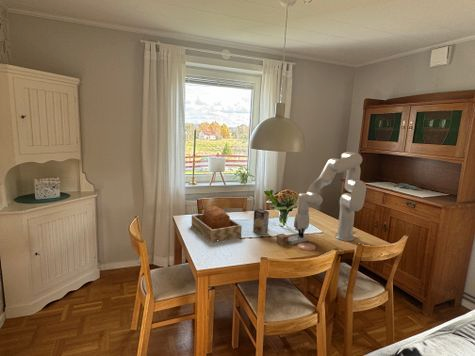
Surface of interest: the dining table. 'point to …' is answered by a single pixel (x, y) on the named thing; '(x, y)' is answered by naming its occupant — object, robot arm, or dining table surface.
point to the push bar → (293, 238)
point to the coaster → (306, 246)
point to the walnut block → (282, 239)
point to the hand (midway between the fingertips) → (300, 237)
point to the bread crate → (216, 233)
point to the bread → (216, 218)
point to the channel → (297, 239)
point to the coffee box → (260, 221)
